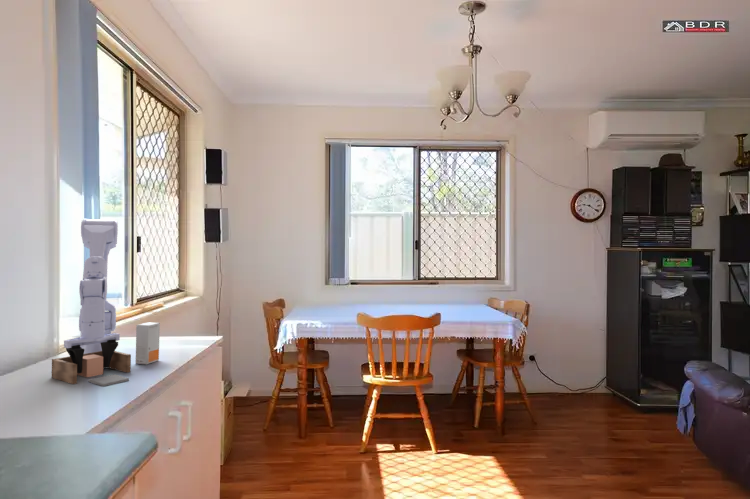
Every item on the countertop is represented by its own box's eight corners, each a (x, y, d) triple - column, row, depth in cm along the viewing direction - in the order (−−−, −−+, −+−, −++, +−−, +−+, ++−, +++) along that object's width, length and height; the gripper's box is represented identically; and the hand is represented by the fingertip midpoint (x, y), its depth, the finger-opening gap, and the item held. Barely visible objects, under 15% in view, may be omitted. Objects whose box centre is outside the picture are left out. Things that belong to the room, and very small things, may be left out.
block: (77, 374, 144) (77, 356, 144) (93, 371, 148) (93, 354, 148) (86, 377, 141) (87, 359, 141) (103, 374, 145) (103, 356, 145)
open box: (51, 377, 140) (51, 359, 140) (108, 366, 154) (109, 349, 154) (72, 384, 134) (73, 365, 134) (130, 371, 148) (130, 354, 148)
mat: (88, 381, 137) (88, 379, 137) (114, 376, 143) (114, 374, 143) (103, 386, 133) (103, 383, 133) (128, 380, 139) (128, 378, 139)
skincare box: (147, 364, 157) (148, 325, 156) (135, 364, 157) (135, 324, 157) (159, 360, 163) (160, 322, 162) (147, 359, 163) (148, 321, 163)
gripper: (73, 325, 136) (73, 377, 136) (126, 319, 148) (125, 366, 148) (60, 323, 139) (59, 373, 140) (112, 317, 152) (111, 363, 152)
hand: (92, 369), depth 144 cm, fingers open, 7 cm apart
